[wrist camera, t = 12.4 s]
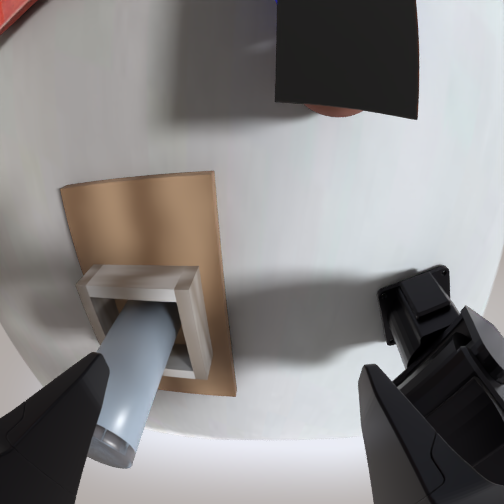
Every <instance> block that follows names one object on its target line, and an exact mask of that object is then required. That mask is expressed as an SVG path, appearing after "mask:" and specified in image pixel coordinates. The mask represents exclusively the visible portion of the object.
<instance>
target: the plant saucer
mask: <svg viewBox="0 0 504 504" xmlns="http://www.w3.org/2000/svg"><path fill="white" fill-rule="evenodd" d="M37 1H38V0H0V35H1V34H2V33H3V32H4V31H5V30H7V29H8V28H9V27H10V26H11V25H12V24H13V23H14V22H15V21H16V20H18V19H19V18H20V17H21V16H22V15H23V14H24V13H25V12H26V11H27V10H28V9H29V8H30V7H31V6H32V5H33V4H34V3H36V2H37Z"/></svg>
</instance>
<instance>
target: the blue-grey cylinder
mask: <svg viewBox="0 0 504 504" xmlns="http://www.w3.org/2000/svg"><path fill="white" fill-rule="evenodd" d="M180 326H181V320H180V315H179V311H178V306H177V303H176V302H162V301H143V300H128V301H127V303H126V304H125V306H124V307H123V309H122V311H121V312H120V314H119V315H118V317H117V319H116V320H115V322H114V323H113V325H112V327H111V328H110V330H109V332H108V333H107V335H106V337H105V338H104V340H103V342H102V343H101V345H100V347H99V349H98V350H97V352H96V353H101V354H102V355H103V356H104V358H105V360H106V362H107V364H108V366H109V369H110V375H109V379H108V383H107V388H106V392H105V397H104V401H103V405H102V409H101V412H100V415H99V419H98V422H97V425H96V428H95V431H94V434H93V437H92V441H91V444H90V447H89V451H88V454H87V457H89V458H91V459H93V460H95V461H98V462H100V463H103V464H106V465H109V466H112V467H116V468H130V467H131V466H132V463H133V460H134V457H135V454H136V451H137V448H138V445H139V442H140V439H141V436H142V433H143V430H144V427H145V424H146V421H147V418H148V415H149V412H150V409H151V406H152V403H153V400H154V398H155V395H156V392H157V389H158V386H159V383H160V381H161V378H162V375H163V372H164V369H165V367H166V364H167V361H168V358H169V356H170V353H171V350H172V348H173V345H174V342H175V339H176V337H177V334H178V331H179V329H180Z"/></svg>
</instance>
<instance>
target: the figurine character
mask: <svg viewBox="0 0 504 504" xmlns="http://www.w3.org/2000/svg"><path fill="white" fill-rule="evenodd" d="M275 1H276V3H277V44H276V83H275V102H281V103H297V104H304V105H305V106H306V107H308V108H309V109H311V110H312V111H314V112H316V113H319V114H322V115H325V116H330V117H347V116H352V115H355V114H358V113H360V112H362V111H369V112H375V113H381V114H387V115H393V116H398V117H403V118H408V119H414V120H417V118H418V99H419V37H418V19H417V7H416V0H275Z"/></svg>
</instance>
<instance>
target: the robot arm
mask: <svg viewBox="0 0 504 504" xmlns="http://www.w3.org/2000/svg"><path fill="white" fill-rule="evenodd" d="M443 271H444V273H442V272H443ZM382 294H385V295H384V296H382ZM377 298H378V302H379V307H380V312H381V317H382V322H383V328H384V333H385V339H386V343H387V345H390V346H391V345H394V344H396V345H397V348H398V350H399V353H400V356H401V358H402V361H403V364H404V366H405V370H404V371H403V372H402V373H401V374H400V375H399V376H398V377H397V378H395V379H394V380H393V381H391V380H390V379H389V378H388V377H387V376H386V374H385V373H384V372H383V371H382V370H381V369H380V368H379V367H378V366H377V365H376V364H366V365H364V366H363V368H362V371H361V374H360V378H359V381H358V390H359V402H360V416H361V427H362V433H363V438H364V444H365V449H366V455H367V461H368V467H369V473H370V480H371V487H372V494H373V501H374V504H504V338H503V336H502V335H501V334H500V332H499V331H498V330H497V329H496V328H495V326H494V325H493V324H492V323H490V322H489V321H487V320H486V319H485V318H483V317H482V316H480V315H479V314H478V313H476V312H475V311H473V310H472V309H470V308H469V307H468V306H466V305H465V307H464V308H463V309H462V310H461V313H459V311H458V310H457V308H456V307H455V305H454V304H453V302H452V301H451V299H450V277H449V269H448V268H447V267H446V266H444V265H443V266H440V267H438V268H435V269H433V270H430V271H428V272H425V273H422V274H420V275H417V276H415V277H412V278H409V279H407V280H404V281H401V282H399V283H396V284H393V285H390V286H388V287H385V288H382V289H380V290H379V291H378V293H377ZM390 340H391V341H390ZM109 375H110V369H109V366H108V364H107V362H106V360H105V358H104V356H103V355H102V354H101V353H96V352H91V353H90V354H88V355H87V356H85V357H84V358H83V359H81V360H80V361H79V362H77V363H76V364H74V365H73V366H72V367H70V368H69V369H68V370H66V371H65V372H64V373H62V374H61V375H60V376H58V377H57V378H55V379H54V380H53V381H51V382H50V383H49V384H47V385H46V386H45V387H43V388H42V389H41V390H39V391H38V392H37V393H35V394H34V395H33V396H31V397H30V398H29V399H27V400H26V402H23V403H22V404H21V405H19V406H18V407H16V408H15V409H14V410H12V411H11V412H9V413H8V414H6V415H5V416H3V417H2V418H0V504H75V500H76V495H77V490H78V487H79V483H80V479H81V475H82V472H83V468H84V465H85V461H86V458H87V454H88V451H89V447H90V444H91V441H92V437H93V434H94V431H95V428H96V425H97V422H98V419H99V415H100V412H101V409H102V405H103V401H104V397H105V392H106V388H107V383H108V379H109Z"/></svg>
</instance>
